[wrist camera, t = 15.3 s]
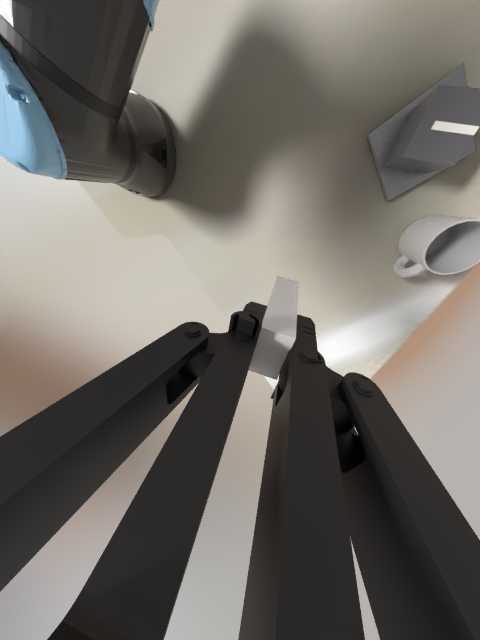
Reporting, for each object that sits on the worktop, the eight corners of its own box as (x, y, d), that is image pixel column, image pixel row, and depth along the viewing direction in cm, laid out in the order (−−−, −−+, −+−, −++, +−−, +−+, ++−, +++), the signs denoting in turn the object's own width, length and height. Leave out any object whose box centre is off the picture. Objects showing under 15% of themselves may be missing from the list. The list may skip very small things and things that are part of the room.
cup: (461, 232, 30) (511, 242, 23) (399, 278, 36) (424, 297, 29) (431, 204, 30) (472, 205, 22) (372, 255, 35) (391, 269, 28)
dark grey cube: (385, 165, 28) (403, 156, 23) (413, 107, 25) (441, 83, 20) (428, 172, 27) (456, 165, 22) (463, 114, 24) (505, 90, 19)
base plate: (366, 136, 28) (376, 126, 24) (457, 67, 23) (487, 41, 19) (386, 200, 31) (397, 200, 27) (470, 153, 26) (497, 144, 22)
